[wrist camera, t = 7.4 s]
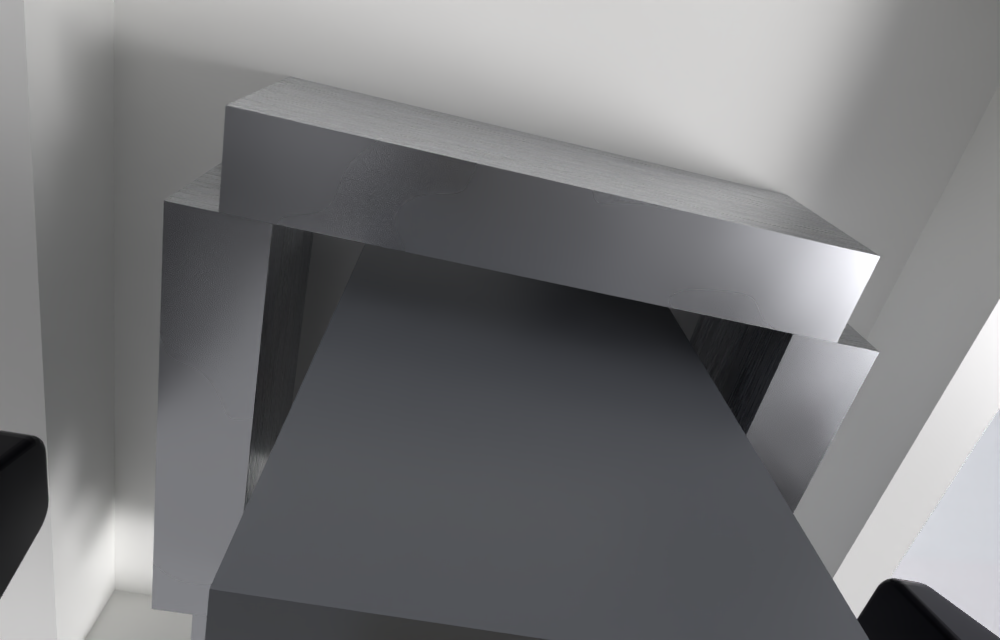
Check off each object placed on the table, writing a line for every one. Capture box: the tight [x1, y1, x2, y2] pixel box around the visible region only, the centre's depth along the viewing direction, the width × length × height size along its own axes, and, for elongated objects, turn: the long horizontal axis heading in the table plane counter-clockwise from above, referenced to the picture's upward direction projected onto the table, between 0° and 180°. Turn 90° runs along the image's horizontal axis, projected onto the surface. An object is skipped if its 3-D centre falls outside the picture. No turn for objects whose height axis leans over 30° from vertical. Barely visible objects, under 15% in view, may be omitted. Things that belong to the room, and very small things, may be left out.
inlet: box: [152, 76, 880, 640], centre depth 9 cm, size 7×7×2 cm
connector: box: [205, 243, 869, 640], centre depth 7 cm, size 4×4×7 cm
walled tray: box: [0, 0, 1000, 640], centre depth 9 cm, size 14×12×2 cm
